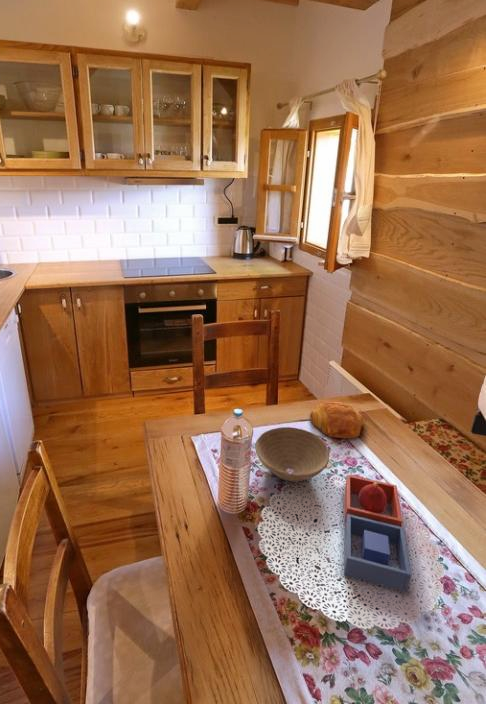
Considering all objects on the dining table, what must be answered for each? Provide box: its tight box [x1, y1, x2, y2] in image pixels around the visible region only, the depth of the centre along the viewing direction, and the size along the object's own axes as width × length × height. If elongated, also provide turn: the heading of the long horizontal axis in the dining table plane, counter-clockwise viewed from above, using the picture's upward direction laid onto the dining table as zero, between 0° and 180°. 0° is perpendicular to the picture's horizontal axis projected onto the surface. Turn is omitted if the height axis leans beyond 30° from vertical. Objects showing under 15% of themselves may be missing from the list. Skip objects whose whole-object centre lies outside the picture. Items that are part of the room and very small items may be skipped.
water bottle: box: [217, 408, 254, 515], centre depth 88 cm, size 7×7×25 cm
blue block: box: [360, 530, 391, 566], centre depth 79 cm, size 4×4×4 cm
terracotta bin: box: [343, 474, 403, 527], centre depth 91 cm, size 11×11×5 cm
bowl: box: [254, 426, 330, 483], centre depth 102 cm, size 18×18×8 cm
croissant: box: [309, 401, 364, 439], centre depth 122 cm, size 14×16×8 cm
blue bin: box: [343, 514, 412, 593], centre depth 79 cm, size 11×11×5 cm
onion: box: [358, 482, 388, 514], centre depth 90 cm, size 6×6×8 cm
